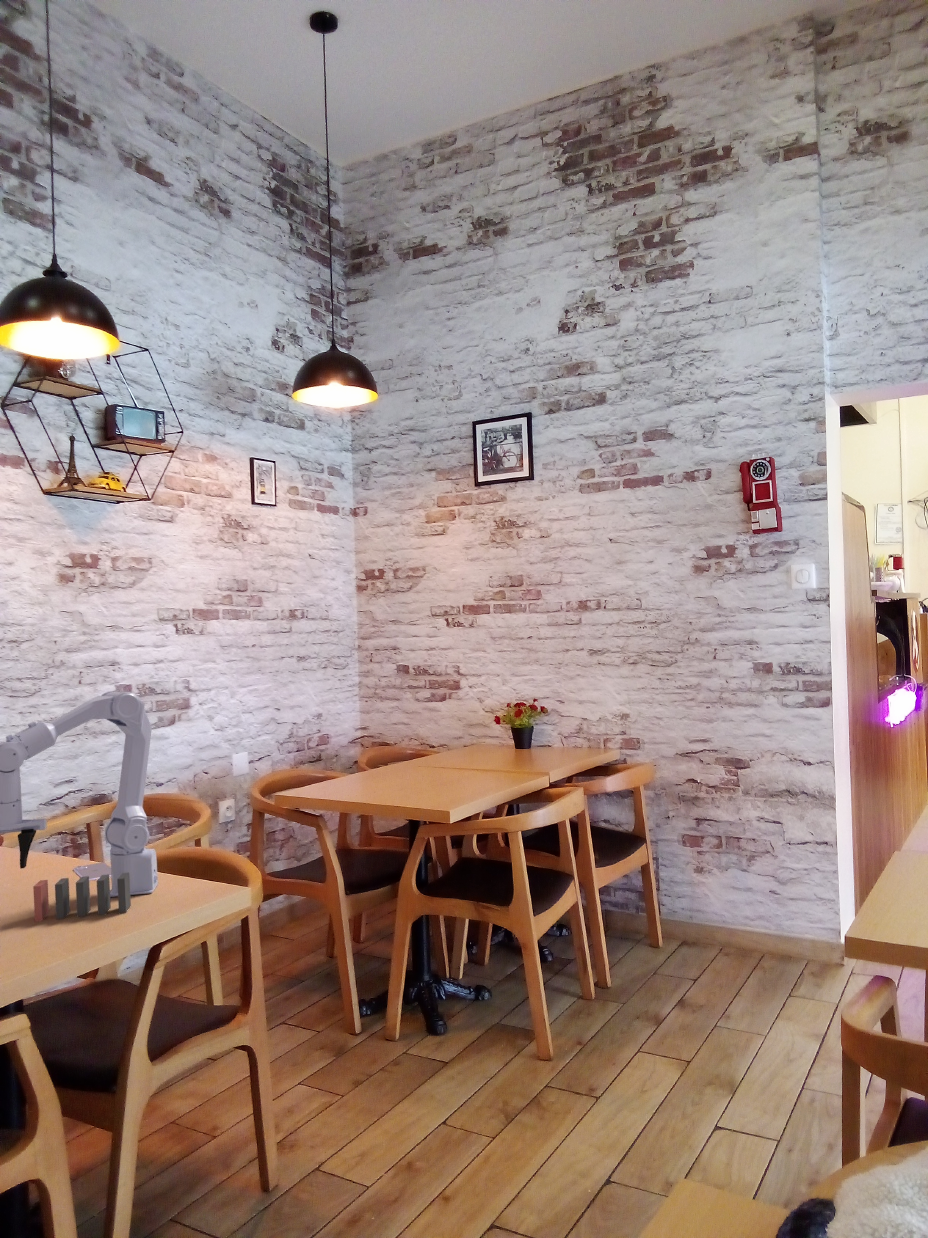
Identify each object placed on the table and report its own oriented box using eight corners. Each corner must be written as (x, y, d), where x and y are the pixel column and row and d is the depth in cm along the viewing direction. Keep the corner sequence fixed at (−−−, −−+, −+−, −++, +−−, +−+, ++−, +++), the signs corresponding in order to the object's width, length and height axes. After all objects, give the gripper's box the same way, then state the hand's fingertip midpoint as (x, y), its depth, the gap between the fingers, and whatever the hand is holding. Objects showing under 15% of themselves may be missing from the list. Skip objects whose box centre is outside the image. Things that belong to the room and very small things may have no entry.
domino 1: (70, 912, 182) (68, 878, 182) (63, 919, 178) (62, 884, 178) (62, 912, 182) (61, 878, 182) (56, 919, 177) (54, 884, 178)
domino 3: (110, 908, 183) (109, 874, 183) (105, 915, 179) (103, 880, 179) (103, 909, 183) (102, 875, 183) (98, 915, 179) (96, 881, 179)
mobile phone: (85, 879, 205) (72, 866, 217) (85, 883, 205) (72, 870, 217) (119, 873, 209) (104, 861, 221) (119, 877, 209) (104, 865, 221)
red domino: (49, 914, 181) (47, 879, 182) (42, 921, 177) (40, 886, 177) (41, 914, 181) (40, 880, 181) (34, 921, 177) (33, 886, 177)
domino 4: (130, 906, 184) (129, 872, 184) (126, 913, 180) (124, 878, 180) (123, 907, 184) (122, 873, 184) (118, 913, 179) (117, 879, 179)
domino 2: (90, 910, 183) (88, 876, 183) (84, 917, 178) (83, 882, 178) (83, 910, 183) (81, 876, 183) (77, 917, 178) (75, 882, 178)
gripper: (48, 794, 184) (51, 860, 184) (-29, 801, 181) (-26, 868, 180) (41, 800, 177) (44, 868, 177) (-39, 807, 174) (-36, 877, 174)
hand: (8, 869), depth 178 cm, fingers open, 5 cm apart
